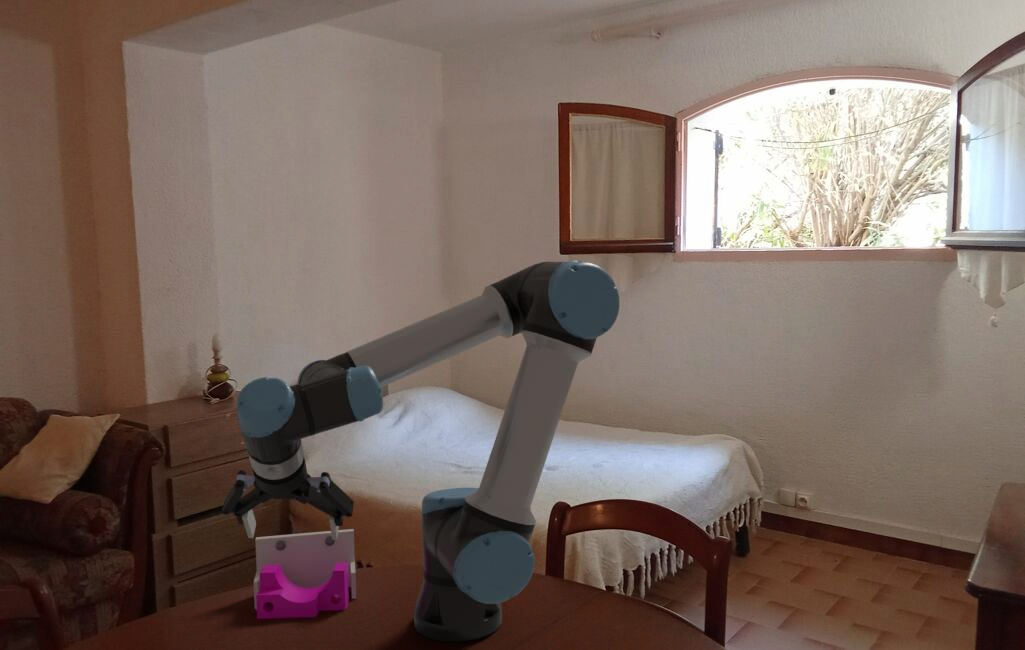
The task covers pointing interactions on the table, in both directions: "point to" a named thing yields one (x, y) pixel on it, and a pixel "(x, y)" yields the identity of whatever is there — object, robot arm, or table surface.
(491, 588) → the robot arm
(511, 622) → the table surface
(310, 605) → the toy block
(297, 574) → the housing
